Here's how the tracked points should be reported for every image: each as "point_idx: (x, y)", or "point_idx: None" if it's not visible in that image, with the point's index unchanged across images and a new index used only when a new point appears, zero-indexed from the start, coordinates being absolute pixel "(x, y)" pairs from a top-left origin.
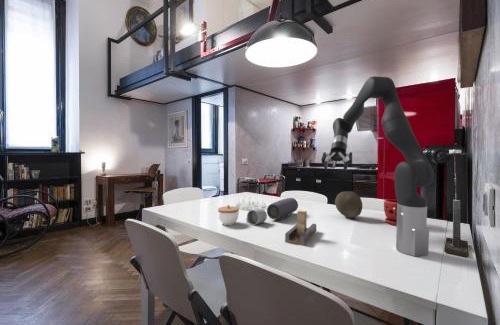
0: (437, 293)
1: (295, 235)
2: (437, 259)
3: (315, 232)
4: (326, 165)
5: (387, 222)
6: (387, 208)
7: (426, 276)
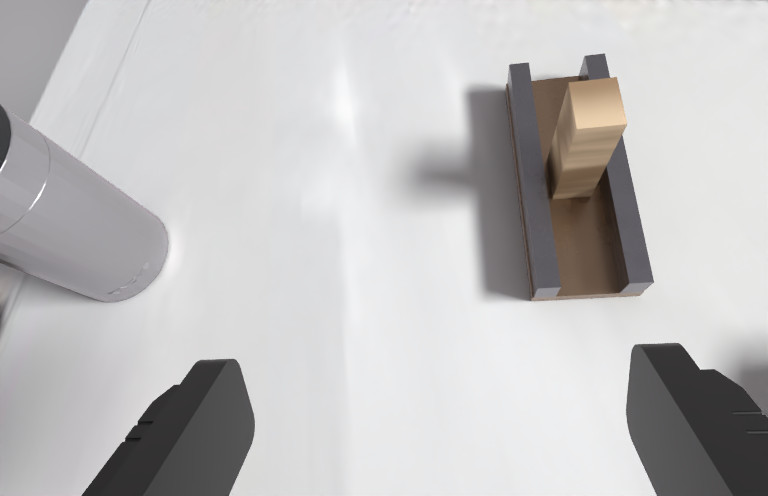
0: (141, 15)
1: None
2: None
3: (528, 277)
4: (664, 374)
5: None
6: None
7: (136, 80)
